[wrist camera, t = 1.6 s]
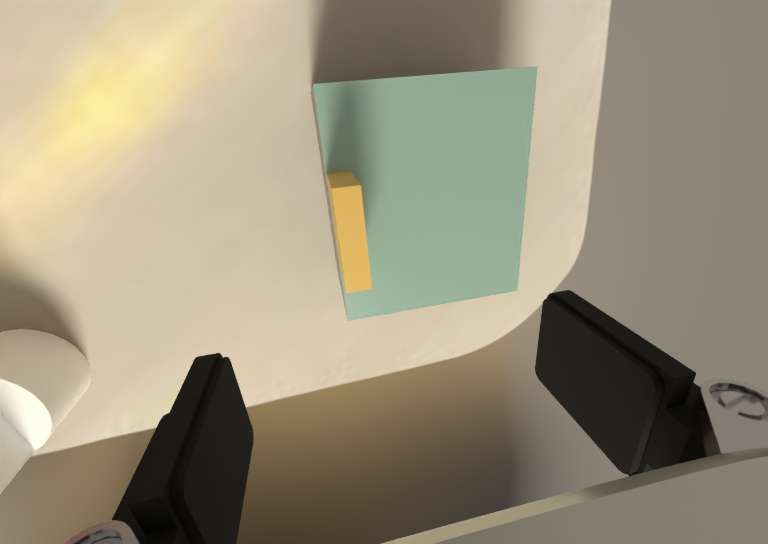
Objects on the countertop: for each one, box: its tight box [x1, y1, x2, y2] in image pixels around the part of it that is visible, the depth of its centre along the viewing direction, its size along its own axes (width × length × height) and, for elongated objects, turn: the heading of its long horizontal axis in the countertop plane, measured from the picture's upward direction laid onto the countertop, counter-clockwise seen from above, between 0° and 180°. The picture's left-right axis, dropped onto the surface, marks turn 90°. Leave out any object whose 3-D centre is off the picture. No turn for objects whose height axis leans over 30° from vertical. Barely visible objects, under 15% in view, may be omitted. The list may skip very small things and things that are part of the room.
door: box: [313, 67, 537, 321], centre depth 23 cm, size 16×14×7 cm
